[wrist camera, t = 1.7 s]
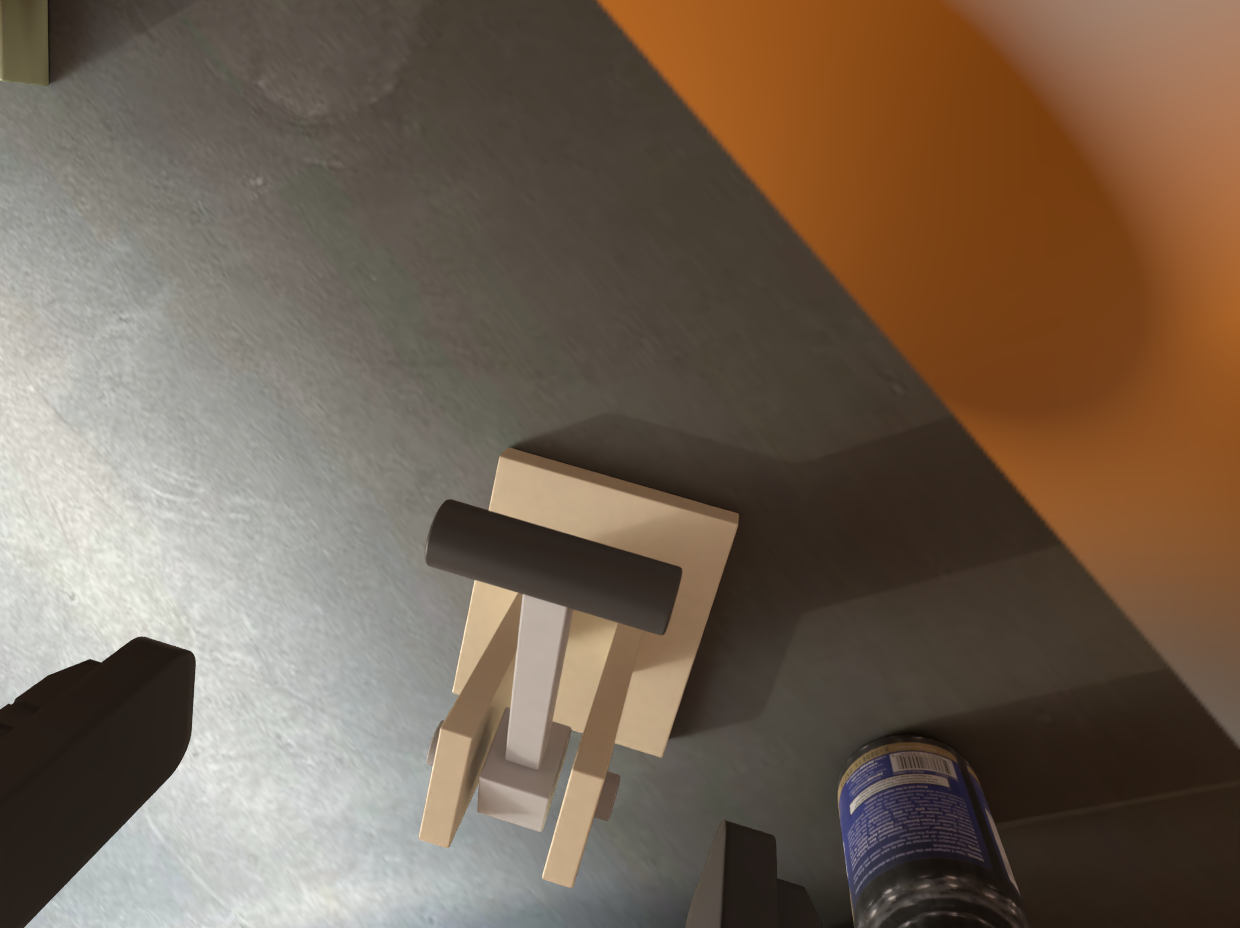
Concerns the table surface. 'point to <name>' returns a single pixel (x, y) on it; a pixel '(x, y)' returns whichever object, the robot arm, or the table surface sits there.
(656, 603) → the switch lever
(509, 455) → the wooden stand
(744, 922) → the robot arm
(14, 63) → the button block
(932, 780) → the pill bottle
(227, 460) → the table surface
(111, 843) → the table surface
